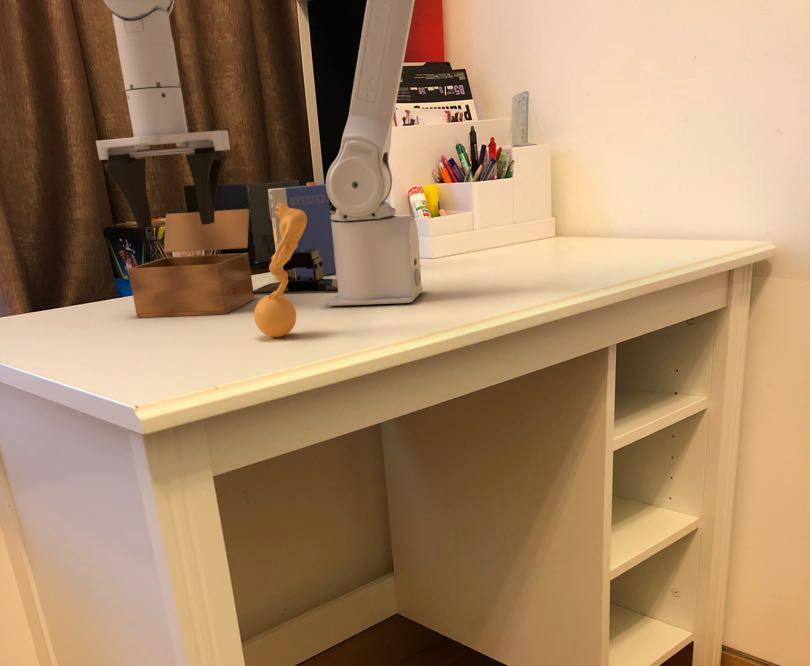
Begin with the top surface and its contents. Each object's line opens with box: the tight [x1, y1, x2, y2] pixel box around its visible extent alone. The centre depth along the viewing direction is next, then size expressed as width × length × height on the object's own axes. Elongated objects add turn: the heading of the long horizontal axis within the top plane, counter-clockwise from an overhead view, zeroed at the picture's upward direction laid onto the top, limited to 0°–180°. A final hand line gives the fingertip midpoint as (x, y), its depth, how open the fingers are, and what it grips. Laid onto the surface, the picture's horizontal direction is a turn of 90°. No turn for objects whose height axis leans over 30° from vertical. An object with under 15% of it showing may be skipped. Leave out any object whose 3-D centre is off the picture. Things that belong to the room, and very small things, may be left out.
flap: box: [163, 208, 250, 253], centre depth 106 cm, size 11×5×1 cm
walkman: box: [267, 181, 336, 277], centre depth 120 cm, size 8×3×12 cm, turn 112°
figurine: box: [253, 203, 307, 338], centre depth 82 cm, size 8×6×12 cm
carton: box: [127, 252, 255, 319], centre depth 103 cm, size 11×10×5 cm
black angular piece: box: [253, 249, 338, 295], centre depth 111 cm, size 12×7×5 cm, turn 76°
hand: (176, 225), depth 98 cm, fingers open, 7 cm apart
